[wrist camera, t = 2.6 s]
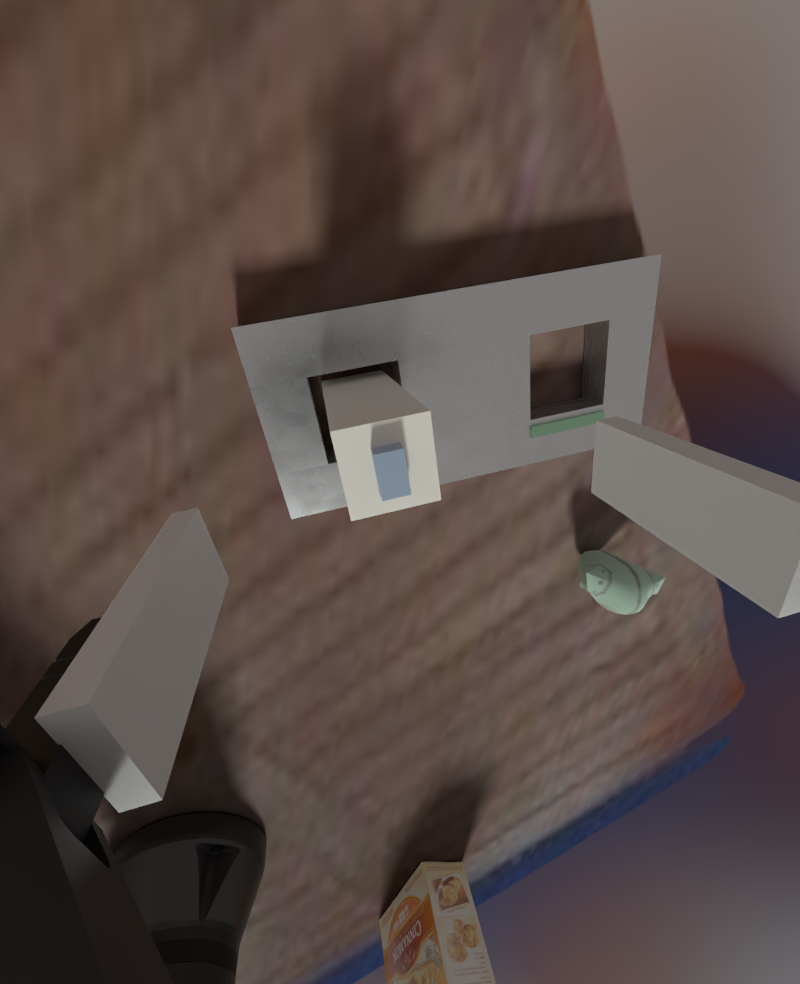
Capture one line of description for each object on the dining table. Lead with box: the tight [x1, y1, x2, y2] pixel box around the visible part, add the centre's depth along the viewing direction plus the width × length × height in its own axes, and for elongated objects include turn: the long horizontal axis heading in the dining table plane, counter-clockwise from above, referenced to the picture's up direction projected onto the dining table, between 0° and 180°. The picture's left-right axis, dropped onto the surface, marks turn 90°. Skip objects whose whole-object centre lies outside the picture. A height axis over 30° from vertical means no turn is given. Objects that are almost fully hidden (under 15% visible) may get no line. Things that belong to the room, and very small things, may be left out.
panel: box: [231, 254, 661, 519], centre depth 27 cm, size 26×12×3 cm, turn 98°
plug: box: [321, 370, 441, 521], centre depth 21 cm, size 4×4×13 cm
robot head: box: [579, 551, 666, 615], centre depth 34 cm, size 8×4×7 cm, turn 78°
